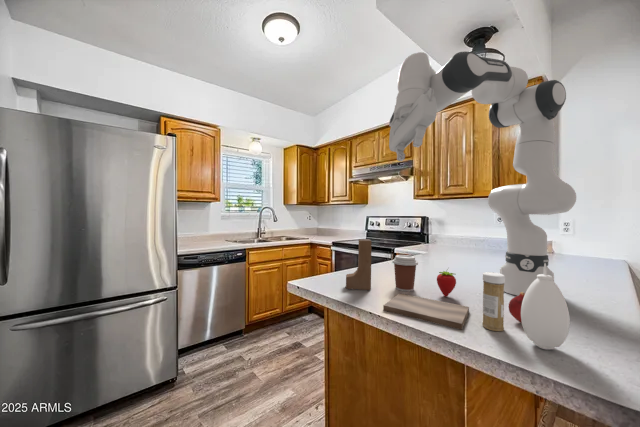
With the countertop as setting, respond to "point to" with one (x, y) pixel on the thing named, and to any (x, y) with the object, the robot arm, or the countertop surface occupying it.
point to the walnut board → (428, 310)
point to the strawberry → (446, 282)
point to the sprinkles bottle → (493, 301)
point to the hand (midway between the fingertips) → (408, 153)
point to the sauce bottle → (545, 313)
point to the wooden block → (361, 268)
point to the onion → (516, 306)
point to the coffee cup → (404, 272)
